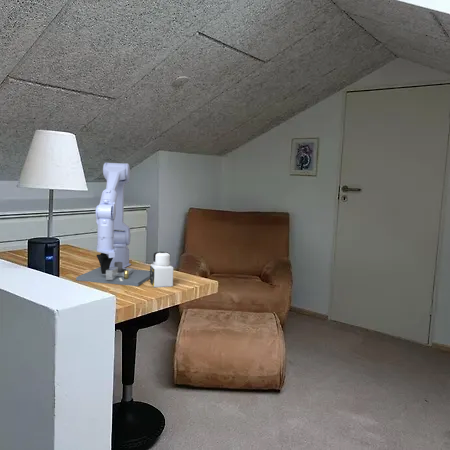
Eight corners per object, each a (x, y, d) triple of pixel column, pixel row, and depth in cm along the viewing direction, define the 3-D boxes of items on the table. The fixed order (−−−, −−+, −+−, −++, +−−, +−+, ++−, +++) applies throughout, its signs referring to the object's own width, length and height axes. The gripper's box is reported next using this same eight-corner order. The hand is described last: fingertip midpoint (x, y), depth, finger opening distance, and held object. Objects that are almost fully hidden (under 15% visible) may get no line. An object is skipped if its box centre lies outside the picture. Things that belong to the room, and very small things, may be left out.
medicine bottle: (149, 282, 166) (150, 250, 165) (168, 281, 169) (169, 250, 167) (153, 287, 160) (154, 254, 158) (173, 286, 162) (174, 253, 161)
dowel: (125, 278, 167) (125, 270, 167) (129, 278, 167) (129, 270, 166) (123, 278, 165) (123, 270, 165) (127, 279, 165) (127, 271, 165)
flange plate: (110, 270, 177) (110, 261, 177) (133, 271, 177) (133, 262, 176) (96, 279, 162) (96, 269, 162) (121, 280, 161) (121, 271, 161)
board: (101, 269, 185) (101, 255, 184) (156, 274, 180) (157, 260, 180) (76, 280, 165) (76, 265, 164) (137, 286, 161) (138, 270, 160)
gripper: (123, 239, 160) (122, 277, 161) (109, 233, 172) (108, 268, 173) (103, 240, 156) (103, 278, 157) (91, 234, 168) (90, 270, 169)
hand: (105, 273), depth 165 cm, fingers closed, pressing on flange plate
